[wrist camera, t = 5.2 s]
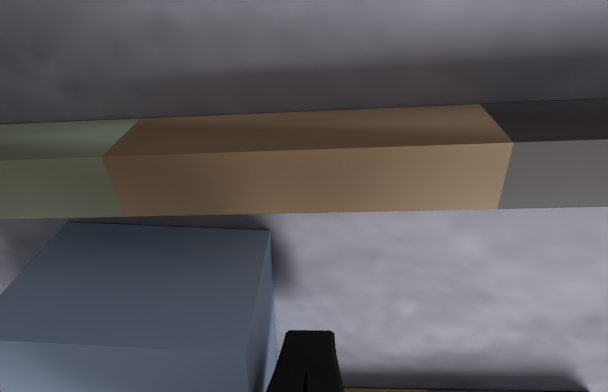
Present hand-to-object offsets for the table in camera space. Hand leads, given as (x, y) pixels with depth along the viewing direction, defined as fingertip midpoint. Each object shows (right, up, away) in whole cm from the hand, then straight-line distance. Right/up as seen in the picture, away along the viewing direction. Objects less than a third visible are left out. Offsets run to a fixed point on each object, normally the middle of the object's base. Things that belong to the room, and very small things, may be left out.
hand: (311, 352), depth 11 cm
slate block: (-4, +1, +2) cm, 5 cm away
